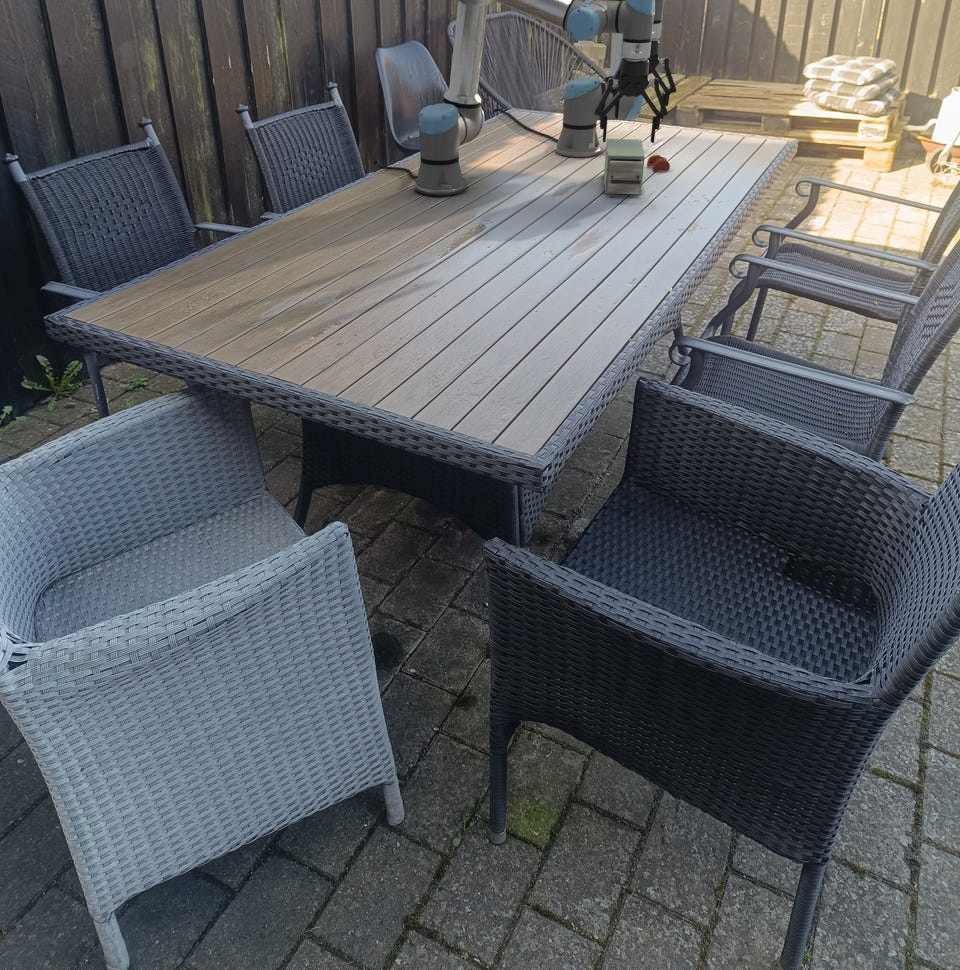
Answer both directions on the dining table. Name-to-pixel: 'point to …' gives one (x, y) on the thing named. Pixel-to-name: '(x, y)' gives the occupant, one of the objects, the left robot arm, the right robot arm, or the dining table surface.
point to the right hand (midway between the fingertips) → (638, 117)
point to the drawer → (624, 176)
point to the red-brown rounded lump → (658, 163)
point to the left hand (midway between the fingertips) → (628, 141)
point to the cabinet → (622, 155)
